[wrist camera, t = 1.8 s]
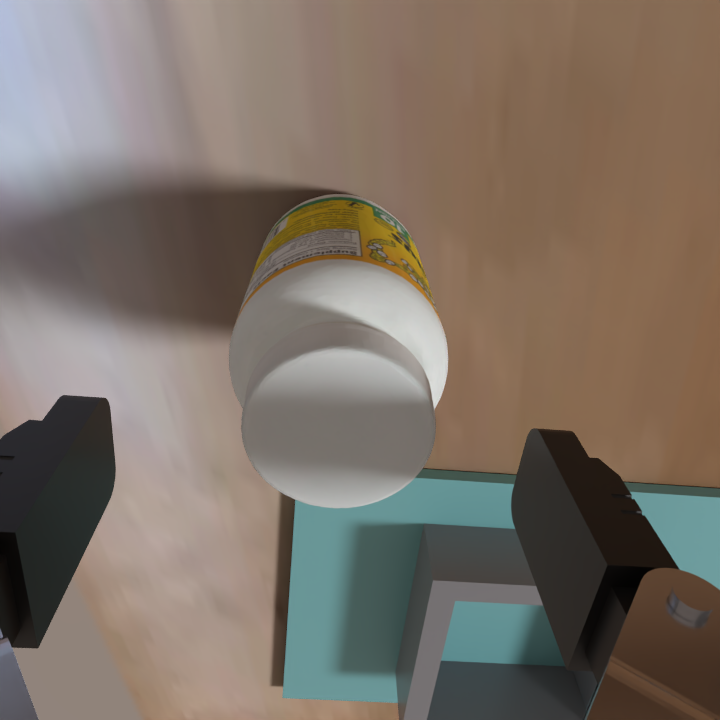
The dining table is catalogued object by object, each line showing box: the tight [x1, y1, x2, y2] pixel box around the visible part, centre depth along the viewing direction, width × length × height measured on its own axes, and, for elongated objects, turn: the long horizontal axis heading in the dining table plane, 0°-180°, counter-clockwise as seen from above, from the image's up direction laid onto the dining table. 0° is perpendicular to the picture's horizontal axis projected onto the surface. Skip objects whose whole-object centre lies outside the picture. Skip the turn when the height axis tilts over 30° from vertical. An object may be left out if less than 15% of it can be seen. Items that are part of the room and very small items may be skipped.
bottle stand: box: [283, 469, 720, 720], centre depth 27 cm, size 20×14×4 cm
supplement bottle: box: [229, 194, 448, 508], centre depth 17 cm, size 5×5×10 cm
